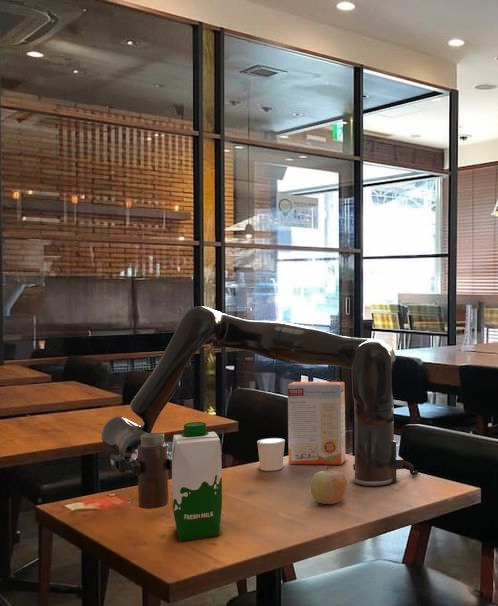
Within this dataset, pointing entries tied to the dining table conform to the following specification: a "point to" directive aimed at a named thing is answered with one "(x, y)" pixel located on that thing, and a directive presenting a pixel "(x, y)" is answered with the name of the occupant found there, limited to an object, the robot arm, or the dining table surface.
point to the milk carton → (196, 482)
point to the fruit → (328, 486)
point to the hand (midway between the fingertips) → (155, 467)
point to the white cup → (271, 453)
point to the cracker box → (316, 423)
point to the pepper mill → (153, 471)
